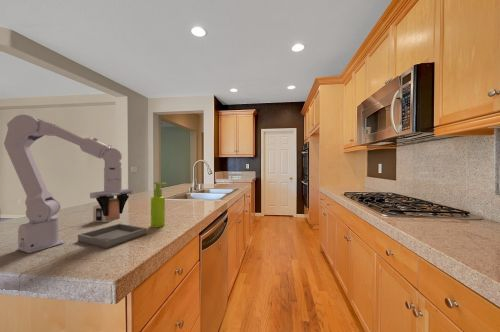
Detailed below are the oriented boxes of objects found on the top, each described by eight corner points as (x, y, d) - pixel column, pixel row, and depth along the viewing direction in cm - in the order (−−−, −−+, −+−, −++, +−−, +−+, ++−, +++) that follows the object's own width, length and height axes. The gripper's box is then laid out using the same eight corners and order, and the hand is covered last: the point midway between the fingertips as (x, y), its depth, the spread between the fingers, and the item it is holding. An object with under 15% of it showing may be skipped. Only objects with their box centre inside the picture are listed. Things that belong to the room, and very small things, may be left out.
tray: (106, 248, 71) (106, 241, 71) (77, 241, 78) (77, 234, 78) (146, 234, 86) (146, 228, 86) (119, 229, 93) (119, 223, 92)
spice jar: (108, 221, 80) (108, 200, 80) (103, 219, 82) (103, 199, 82) (122, 218, 83) (121, 198, 83) (116, 217, 86) (116, 197, 86)
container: (108, 222, 103) (108, 195, 103) (92, 222, 103) (92, 195, 103) (118, 218, 111) (118, 193, 110) (104, 218, 111) (104, 193, 111)
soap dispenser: (161, 227, 95) (161, 182, 94) (147, 226, 96) (147, 182, 96) (169, 224, 100) (169, 181, 100) (156, 223, 102) (156, 181, 102)
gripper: (126, 178, 91) (126, 209, 91) (86, 180, 79) (86, 216, 79) (135, 178, 87) (135, 212, 87) (94, 181, 75) (94, 219, 75)
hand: (113, 214), depth 83 cm, fingers closed on spice jar, 5 cm apart
